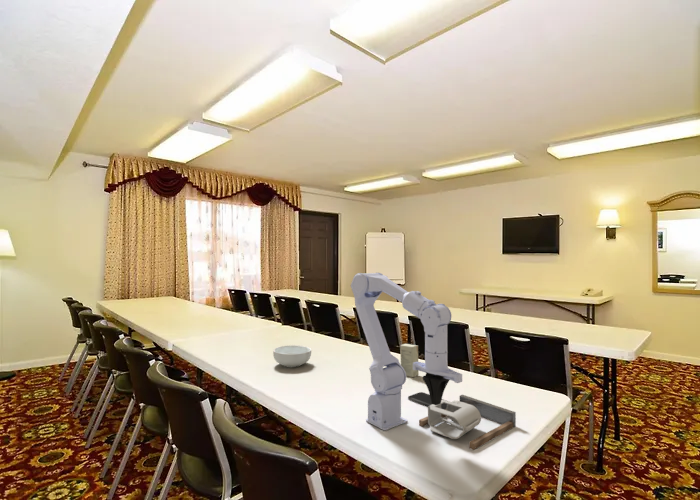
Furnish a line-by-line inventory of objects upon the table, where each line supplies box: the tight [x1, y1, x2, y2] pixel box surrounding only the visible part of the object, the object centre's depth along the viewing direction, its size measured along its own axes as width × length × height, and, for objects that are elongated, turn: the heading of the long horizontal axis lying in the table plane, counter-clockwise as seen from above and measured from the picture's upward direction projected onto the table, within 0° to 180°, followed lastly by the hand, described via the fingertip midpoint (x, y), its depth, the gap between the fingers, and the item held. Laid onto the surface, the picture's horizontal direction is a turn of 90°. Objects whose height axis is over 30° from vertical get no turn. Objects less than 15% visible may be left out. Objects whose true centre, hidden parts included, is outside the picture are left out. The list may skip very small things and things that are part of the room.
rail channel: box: [418, 394, 517, 451], centre depth 103 cm, size 21×17×4 cm
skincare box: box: [399, 343, 420, 378], centre depth 150 cm, size 6×4×12 cm
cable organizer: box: [427, 399, 482, 440], centre depth 101 cm, size 7×12×12 cm
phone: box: [407, 391, 448, 410], centre depth 120 cm, size 8×1×15 cm
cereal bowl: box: [272, 344, 312, 368], centre depth 164 cm, size 17×17×7 cm
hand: (436, 403), depth 95 cm, fingers closed
